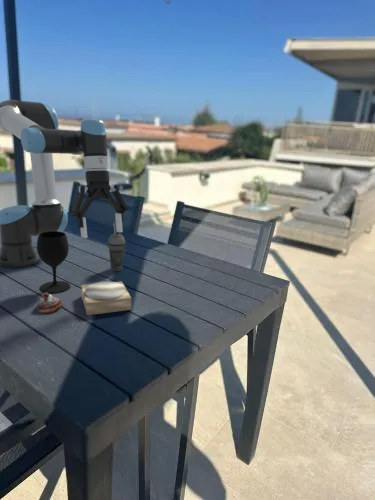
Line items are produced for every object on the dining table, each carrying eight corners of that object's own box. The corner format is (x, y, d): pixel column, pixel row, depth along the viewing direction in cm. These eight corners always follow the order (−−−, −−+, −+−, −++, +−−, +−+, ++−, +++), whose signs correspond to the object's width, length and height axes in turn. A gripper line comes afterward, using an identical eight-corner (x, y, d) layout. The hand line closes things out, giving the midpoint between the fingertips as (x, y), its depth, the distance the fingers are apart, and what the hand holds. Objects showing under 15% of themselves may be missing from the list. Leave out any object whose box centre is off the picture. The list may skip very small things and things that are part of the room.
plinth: (81, 296, 121) (81, 283, 120) (121, 292, 127) (121, 279, 125) (87, 315, 109) (86, 300, 108) (131, 309, 115) (131, 295, 113)
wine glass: (41, 295, 120) (37, 239, 114) (38, 284, 129) (34, 231, 123) (72, 291, 125) (70, 237, 119) (67, 280, 134) (65, 229, 128)
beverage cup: (121, 273, 144) (121, 226, 138) (104, 270, 145) (104, 224, 139) (127, 267, 151) (128, 222, 145) (111, 265, 152) (111, 220, 146)
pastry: (36, 304, 115) (35, 290, 113) (61, 301, 117) (60, 287, 116) (37, 315, 108) (35, 300, 106) (62, 312, 110) (62, 298, 109)
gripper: (66, 170, 103) (73, 241, 107) (134, 169, 120) (139, 230, 124) (54, 171, 108) (62, 239, 112) (122, 170, 125) (126, 229, 129)
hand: (102, 234), depth 118 cm, fingers open, 13 cm apart
